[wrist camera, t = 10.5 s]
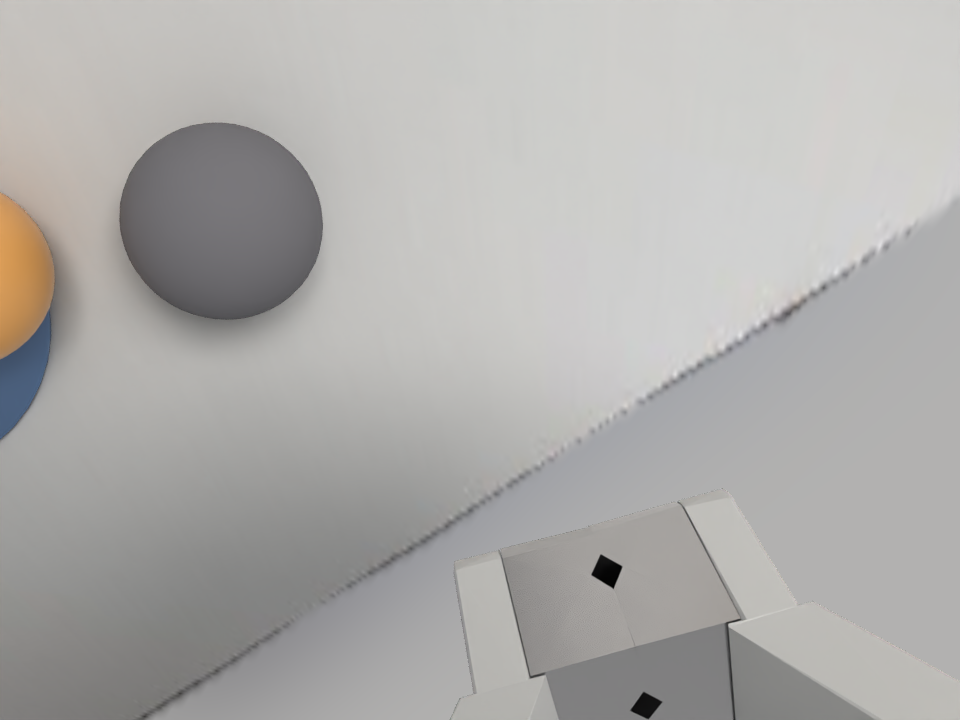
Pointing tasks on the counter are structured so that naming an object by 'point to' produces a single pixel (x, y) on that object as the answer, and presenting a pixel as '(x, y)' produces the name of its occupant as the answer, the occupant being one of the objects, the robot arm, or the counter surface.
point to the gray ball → (221, 221)
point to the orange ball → (22, 276)
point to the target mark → (23, 375)
